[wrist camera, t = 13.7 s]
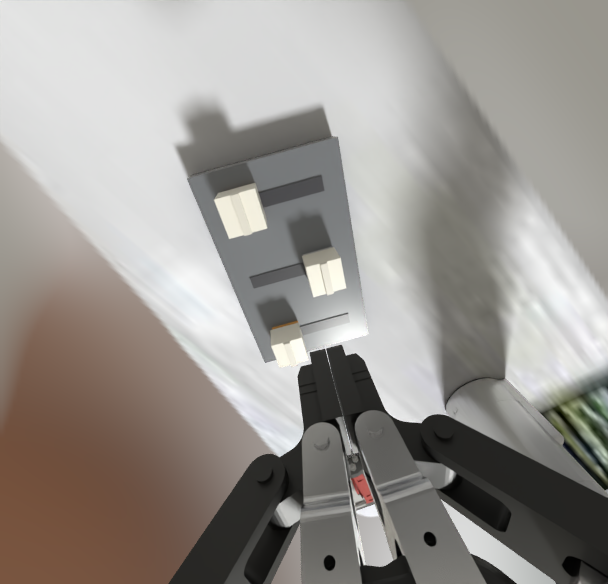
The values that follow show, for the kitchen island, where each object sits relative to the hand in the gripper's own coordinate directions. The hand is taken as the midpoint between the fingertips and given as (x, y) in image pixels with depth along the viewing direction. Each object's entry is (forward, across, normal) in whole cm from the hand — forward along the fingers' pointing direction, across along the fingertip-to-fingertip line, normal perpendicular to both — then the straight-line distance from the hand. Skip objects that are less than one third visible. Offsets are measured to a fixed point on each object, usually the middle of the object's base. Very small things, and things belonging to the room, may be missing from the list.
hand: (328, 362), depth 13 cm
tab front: (+14, +4, -5) cm, 15 cm away
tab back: (+14, +3, +9) cm, 17 cm away
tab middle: (+14, -2, +2) cm, 15 cm away
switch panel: (+17, +1, +2) cm, 17 cm away
